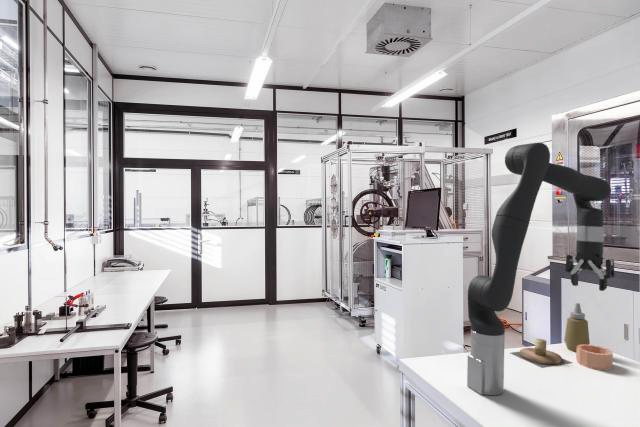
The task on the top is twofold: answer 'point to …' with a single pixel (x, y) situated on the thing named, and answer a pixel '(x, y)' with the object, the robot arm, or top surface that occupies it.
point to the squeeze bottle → (576, 329)
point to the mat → (541, 364)
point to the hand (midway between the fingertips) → (588, 287)
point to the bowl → (594, 357)
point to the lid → (540, 354)
